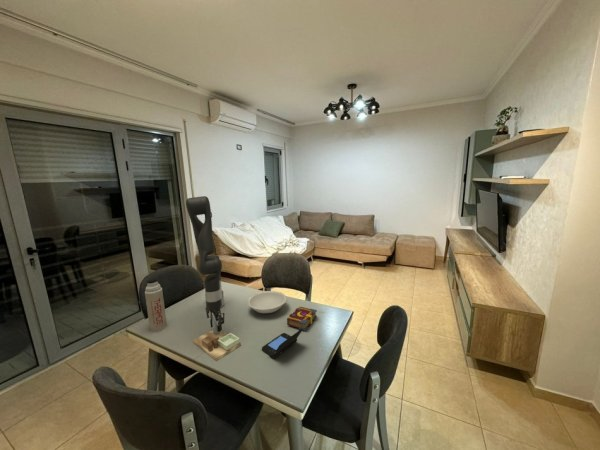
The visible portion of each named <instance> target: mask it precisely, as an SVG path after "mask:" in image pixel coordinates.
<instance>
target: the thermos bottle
mask: <svg viewBox="0 0 600 450" xmlns="http://www.w3.org/2000/svg"><path fill="white" fill-rule="evenodd" d="M146 284H147V285H146V287H145V291H144V297H145V305H146V310H147V318H148V324H149V326H148V327H149V331H150V332H151V333H157V332H162V331H163V330H165V329H166V328H167V327H168V325H167V324H168V323H167V317H166V316H167V315H166V308H165V300H164V295H163V293H164V292H163V287H161V284H160V283H159V282H158V278H150V279H148V280H146Z"/></svg>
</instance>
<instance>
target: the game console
mask: <svg viewBox="0 0 600 450" xmlns="http://www.w3.org/2000/svg"><path fill="white" fill-rule="evenodd" d="M303 331H304V330H303V329H298V331H296V332H295V333H293V334H292V335H290V334H288V333H287V332H283V333H280V334H279V335H277V337H274V338H273V339H272V340H271V341H269V342H268V343H266V344H264V345H263V346H261V351H262V352H264V353H265V354H266V355H269V356H270V357H271V358H273V359H276V358H277V357H278V356H280V355H281V354H282V353H283V352H285V350H287V349H289V348H290V347H292V345H294V344H295V343H297V342H298V337H299V336H300V334H302V332H303Z"/></svg>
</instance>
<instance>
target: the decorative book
mask: <svg viewBox="0 0 600 450" xmlns="http://www.w3.org/2000/svg"><path fill="white" fill-rule="evenodd" d="M292 312H293V313H292ZM292 312H291V313H289V315H288V317H287V318H286V323H287V324H286V325H287V326H290V327H293V328H295V329H298V330H301V329H303V330H302V331H306V330H307V329H308V328H309V326H310V325H312V323H313V322H314V321H315V319H316V318H318V317H317V315H316V313H317V312H318V310H317V309H314V308H308V307H305V306H304V307H303V306H299V307H296V309H295V310H294V311H292Z"/></svg>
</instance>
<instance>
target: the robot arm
mask: <svg viewBox="0 0 600 450" xmlns="http://www.w3.org/2000/svg"><path fill="white" fill-rule="evenodd" d="M185 206H186V207H185V208H186V210H187V213H188V217H189V219H190V222H191V226H192V230H193V237H194V240H195V244H196V247H197V248H196V249H197V251H198V255H199V263H198V271H199V273H200V274H201V275H203V276H205V278H204V297H205V313H206V318H207V319H209V324H210V328H213V324H212V316H213V317H214V320H215V321H216V323H217V331H218V332H220V331H222V332H223V325H224V324H225V315H226V314H225V313H224V312H221V308H223V306H225V296H224V290H223V289H222V278H221V277H222V276H221V272H222V267H223V263H222V260H221V259H220V256H219V255H218V254H215V255H213V254H214V253H216V247H215V242H214V236H213V223H212V222H213V221H212V220H213V219H212V209H211V208H212V207H211V203H210V200H209V198H208V196H206V195H205V196H204V195H203V196H201V195H200V196H194V197H189V198H186V200H185ZM202 215H204V222H202V221H201V220H200V218H199V217H198V216H202ZM217 317H219V318H218V319H216V318H217ZM218 320H219V322H218Z"/></svg>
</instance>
